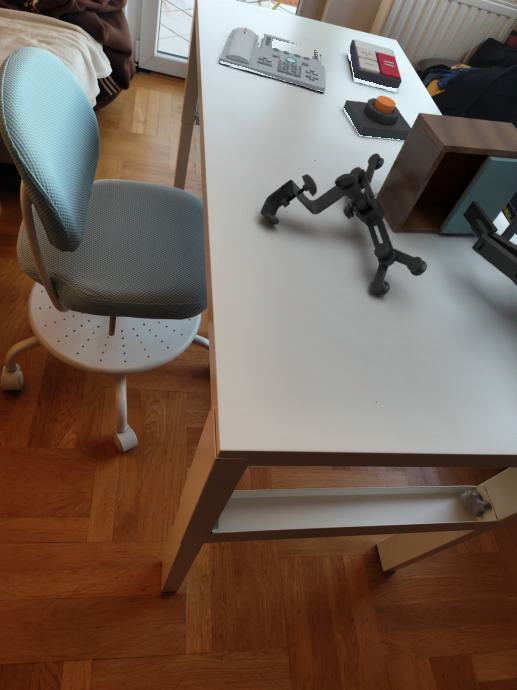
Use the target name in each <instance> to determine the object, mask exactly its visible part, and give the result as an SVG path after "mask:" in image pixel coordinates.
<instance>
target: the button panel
mask: <svg viewBox="0 0 517 690" xmlns="http://www.w3.org/2000/svg"><path fill="white" fill-rule="evenodd" d="M349 47H350V54H351V61H352V67H353V72H354V77H355V78H358V79H361V80H365V81H369V82H373V83H376V84H379V85H383V86H386V87H392V88H398V89H399V88H400V86H401V84H402V76H401V73H400V69H399V66H398V62H397V59H396V55H395V53H394V50H393V49H391V48H389V47H385V46H381V45H378V44H374V43H370V42H366V41H363V40H360V39H352V40H351V42H350V45H349Z"/></svg>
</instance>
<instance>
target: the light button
mask: <svg viewBox="0 0 517 690" xmlns="http://www.w3.org/2000/svg"><path fill="white" fill-rule="evenodd" d="M396 104H397V103H396V102H395V100H394V99H392V98H390V97H388V96H386V95H378V96H377V97H376V102H375V104H374V107H375V108H376V109H377V110H379V111H381V112H383V113H388V114H391V113H392V112H393V109H394V107H395V106H396Z"/></svg>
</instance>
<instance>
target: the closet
mask: <svg viewBox="0 0 517 690" xmlns="http://www.w3.org/2000/svg"><path fill="white" fill-rule="evenodd" d="M489 157H498V158H510V159H517V127H516V126H515V125H514V124H513V123H512V122H506V121H496V120H487V119H479V118H478V119H477V118H469V117H462V116H461V117H460V116H452V115H442V114H433V113H426V112H418V114H417V116H416V118H415V120H414V122H413V124H412V126H411V130H410V132H409V134H408V136H407V138H406V140H405V141H403V144H402V145H401V148H400V150H399V151H398V154H397V156H396V157H395V160H394V161H393V164H392V166H391V167H390V170H389V171H388V173H387V176H386V177H385V179H384V182H383V183H382V185H381V187H380V188H379V191H378V194H377V195H376V197H375V199H376V200H377V201H378V202H379V203H380V205H381V207H382V208H383V210H384V211H385V216H384V219H385V220H386V222H387V223H388V226H389V227H390V229H391V230H392V232H393V233H395V234H397V233H399V234H403V233H405V234H407V233H409V234H443V233H442V232H441V228H442V227H443V225H444V224H445V222H446V221H447V219H448V218H449V216H450V215H451V213H452V212H453V210H454V209H455V207H456V206H457V204H458V203H459V201H460V200H461V198H462V197H463V196H464V194H465V193H466V191H467V190H468V188H469V187H470V185H471V184H472V182H473V181H474V179H475V178H476V176H477V175H478V173H479V172H480V170H481V169H482V167H483V166H484V164H485V163H486V161H487V160H488V158H489ZM462 234H469V235H470V233H461V235H462Z"/></svg>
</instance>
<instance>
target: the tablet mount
mask: <svg viewBox="0 0 517 690" xmlns="http://www.w3.org/2000/svg"><path fill="white" fill-rule="evenodd" d="M367 164H368V165H367V167H366V170H365V169H362V168H361V167H360V166H356V167H354V168H352V169H351V170H350V172H349V173H343V174H341V175H339V176H337V177H336V179H335V180H334V186H333V187H331V188H329V189H328V190H327V191H325V192H324V193H322V194H321V195H320V196H318V197H317V198H315V199H310V198H309V197H307V196H306V195H305V193H304V192H308V193H309V194H310V196H311V197H314V196H315V195H316V194H317V192H318V187H317V184H316V181H315V179H314V178H313V177H312V176H311V175H310V174H308V173H306V174H304V175H301V178H302V181H303V185H302V187H300V186H299V185H297V183H296V182H295V181H294V180H293V179H289V180H287V181H286V182H284V184H282V185H280V187H278V188H277V189H276V190H274V191H273V192H272V193H271V194H269V195H268V196H267V197H266V199H265V201H264V203H263V205H262V207H261V209H260V215H261V216H262V217H263V218H264V219H266V220H267V221H268V223H270V224H271V225H274V226H278V225H279V222H280V220H279V218H278V217H276V215H277V212H278V210H279V209H280V208H281V207H282V206H283V208H288V206H290V205H291V201H293V200H294V199H295V198H296V199H297V200H298V201H299V202H300V203H301V205H303V206H304V207H305V208H306V209H307V210H308V211H309V212H310V213H311V214H312V215H319V214H321V213H322V212H324V211H325V210H326V209H328V208H330V207H331V206H332V205H334V204H336V202H338V201H340V200H341V199H343V198H344V197H346V198H347V199H348V200H349V202H347V204H345V206H344V207H343V214H344V216H345V217H346V219H353V218H355V216H356V217H357V218H358V219H359V220H360V221H361V222H362V223H363V224H364V225H365V226H366V227H367V229H368V232H369V235H370V239H371V241H372V244H373V248H374V249H373V255H374V256H375V257H376V259H377V262H378V266H377V269H376V272H375V276H374V278H373V280H372V282H370V287H369V288H370V290H371V291H372V292H374V295H375V296H377V297H383V296H385V295H386V294H388V292H389V290H390V287H391V286H390V283H389V282H388V281H385V278H386V275H387V272H388V269H389V267H391V266H392V265H394V264H395V262H397V263H399V264H400V265H401V264H402V265H403V266H406V268H407V270H409V271H410V274H411V275H412V276H414V277H418V276H421V275H424V273H425V272H426V271H427V269H428V264H427V262H426V261H425V260H423V259H422V257H420V256H412V255H410V254H408V253H405V252H403V251H401V250H399V249H397V248H394V246H393V243H392V241H391V238H390V236H389V232H388V230H387V227H386V224H385V222H384V219H385V217H384V216H385V211H384V210H383V208H382V207H381V205H380V203H379V202H378V201H377V200H376V197H375V194H374V191H373V188H372V186H371V183H372V180H373V177H374V175H375V171H377V170H379V169H381V168H382V167H383V166H384V165H385V159H384V158H383V157H381V155H380V154H379V153H377V152H376V153H373V154H372V155H370V156H369V158H368V160H367ZM375 227H377V230H378V233H379V236H380V238H381V241H382V242H381V243H380V240H379V237H378V234H377V231H376V229H375Z"/></svg>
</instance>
